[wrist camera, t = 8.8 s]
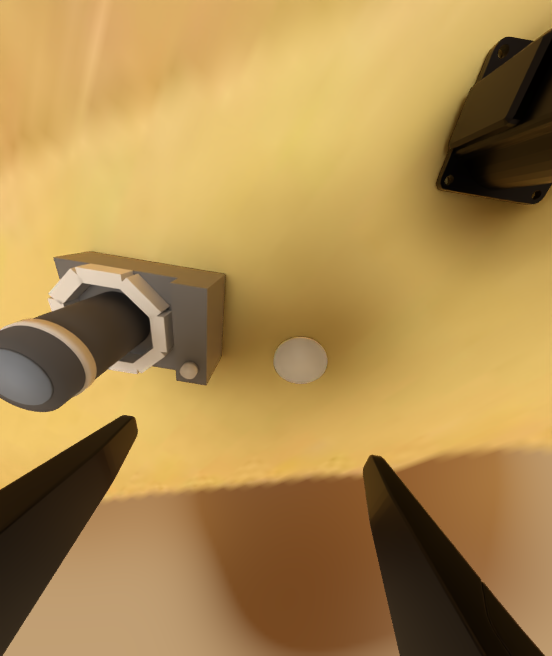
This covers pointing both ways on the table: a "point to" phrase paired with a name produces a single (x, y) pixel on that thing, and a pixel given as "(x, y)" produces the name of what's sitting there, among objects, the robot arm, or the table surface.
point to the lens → (67, 349)
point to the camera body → (154, 309)
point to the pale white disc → (300, 360)
